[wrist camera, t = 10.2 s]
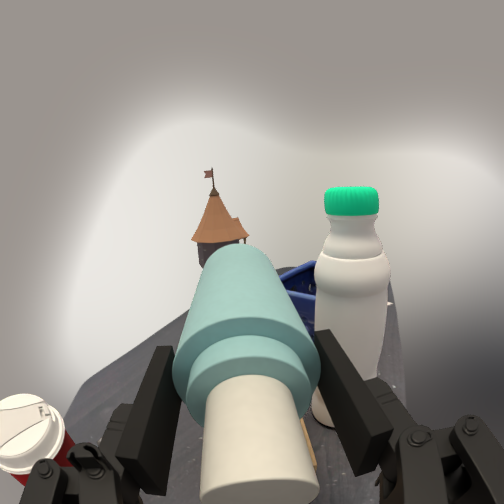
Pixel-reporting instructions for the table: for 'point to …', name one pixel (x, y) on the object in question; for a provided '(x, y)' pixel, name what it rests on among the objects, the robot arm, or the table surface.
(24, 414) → the paper cup
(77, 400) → the table surface
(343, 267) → the water bottle
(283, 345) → the plastic bottle
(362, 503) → the table surface
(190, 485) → the table surface
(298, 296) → the flower pot
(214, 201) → the model tower
